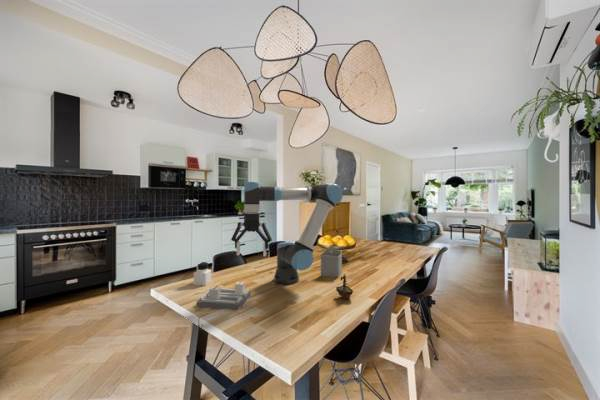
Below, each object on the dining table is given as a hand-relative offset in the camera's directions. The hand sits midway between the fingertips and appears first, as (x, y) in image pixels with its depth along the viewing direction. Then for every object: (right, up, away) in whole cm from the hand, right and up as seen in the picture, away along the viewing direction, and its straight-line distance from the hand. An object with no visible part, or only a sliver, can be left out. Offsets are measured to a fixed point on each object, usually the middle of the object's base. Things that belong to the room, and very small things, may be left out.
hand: (251, 255), depth 119 cm
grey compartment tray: (-12, -21, -4) cm, 24 cm away
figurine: (+47, -22, +1) cm, 52 cm away
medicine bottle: (-32, -21, +19) cm, 43 cm away
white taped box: (-6, -19, 0) cm, 20 cm away
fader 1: (-16, -19, -7) cm, 25 cm away
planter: (+47, -22, +35) cm, 62 cm away
